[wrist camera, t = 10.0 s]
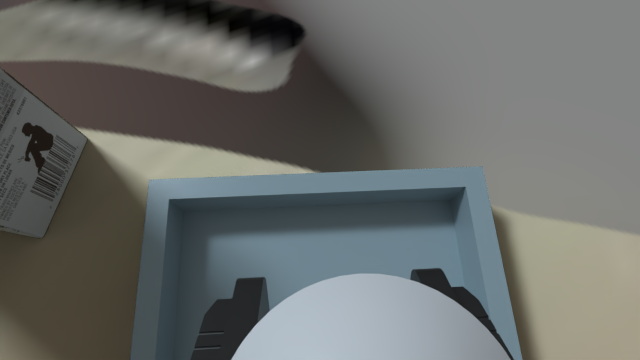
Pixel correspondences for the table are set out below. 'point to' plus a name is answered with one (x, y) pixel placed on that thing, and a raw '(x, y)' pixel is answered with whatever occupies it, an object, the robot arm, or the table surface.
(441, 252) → the parts tray
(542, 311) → the table surface
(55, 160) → the coffee box
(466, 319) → the white dome cap bottle
